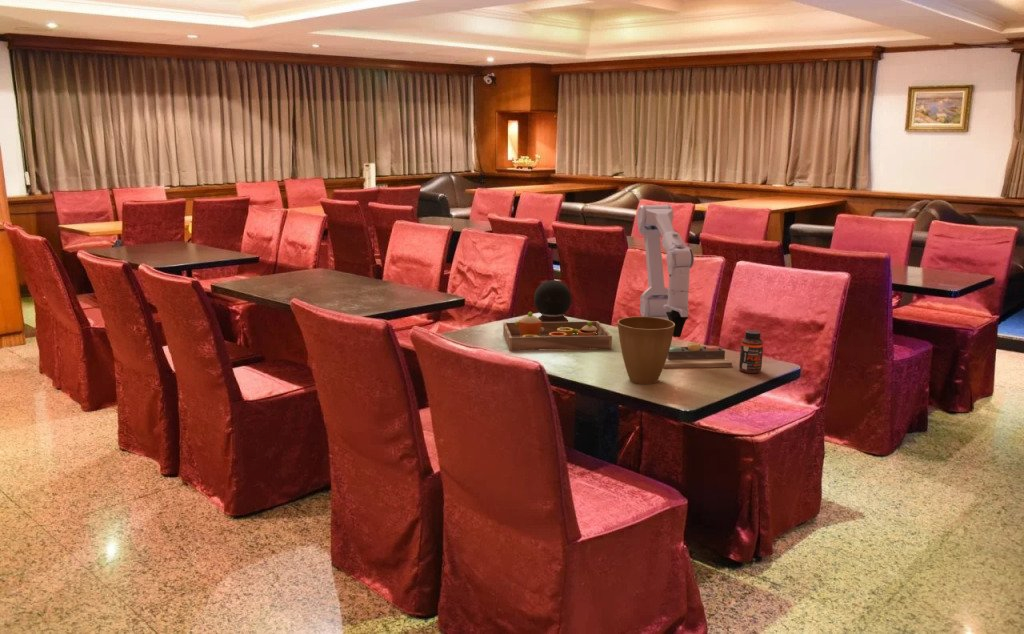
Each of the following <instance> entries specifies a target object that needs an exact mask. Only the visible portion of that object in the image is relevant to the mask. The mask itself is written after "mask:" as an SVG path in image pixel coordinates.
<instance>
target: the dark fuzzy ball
mask: <svg viewBox="0 0 1024 634" xmlns="http://www.w3.org/2000/svg"><path fill="white" fill-rule="evenodd" d="M534 292H535V293H534V295H533V302H534V306H535V308H536V310H537V312H538V313H539V314H540V316H538V317H537V318H538V319H539V320H541V321H542V322H569V320H568V317H566V316H565V314H566V313H567V312H568V311H569V310H570V309H571V308H570V307H571V305H572V299H573V298H572V297H573V296H572V294H571V291H570V288H569V287H568V286H567V285H566V284H565V283H563V282H562V281H560V280H554V279H551V280H546V281H545V282H543V283H541V284H540V285H539V286H538V287H537V288H536V289H535V291H534Z"/></svg>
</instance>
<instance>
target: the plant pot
mask: <svg viewBox="0 0 1024 634" xmlns="http://www.w3.org/2000/svg"><path fill="white" fill-rule="evenodd" d="M674 327H675V323H674V322H672V321H670V320H666V319H662V318H655V317H642V315H641V316H638V315H637V316H629V317H624V318H623V317H622V318H620V319H618V320H617V328H618V329H617V330H618V338H619V344H620V345H619V346H620V350H621V355H622V358H623V363H624V367H625V370H626V373H627V377H628V378H629V379H628V380H629V381H630V382H632V383H635V384H638V385H652V384H655V383H657V382H658V381H659V379H660V376H661V374H662V371H663V369H664V368H663V367H664V364H665V361H666V359H667V356H668V352H669V349H670V347H671V346H672V345H671V344H672V341H673V338H674V337H673V332H674Z"/></svg>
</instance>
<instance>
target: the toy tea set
mask: <svg viewBox="0 0 1024 634" xmlns="http://www.w3.org/2000/svg"><path fill="white" fill-rule="evenodd" d="M588 321H589V320H588ZM515 325H516V326H519V330H520V335H519V337H541V334H540V332H542V331H544V328H543V327H541V325H542V321H541V320H539V319H538V317H537V316H535V315H533V312H532V311H529V312H527V315H525V316H523V317H522V318H521V319H519V320H518V321H515ZM596 331H597V328H596V327H595V326H593V325H592V322H590V321H589V322H587V325H586V326H584V327H582V329H580V330H578V329H575V330H574V329H573V328H568V327H561V328H558V329H557V332H551V333H549V334H548V335H547V336H546V337H548V336H574V335H577V336H597V334H596ZM573 333H575V334H573ZM577 333H578V334H577Z"/></svg>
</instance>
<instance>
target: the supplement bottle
mask: <svg viewBox="0 0 1024 634" xmlns="http://www.w3.org/2000/svg"><path fill="white" fill-rule="evenodd" d="M761 334H762V333H761V331H760V330H759V331H758V330H751V329H750V330H746V331H745V337H744V338H742V339H741V343H740V354H739V371H741V372H742V373H746V374H759V373H761V371H762V366H763V364H762V363H763V352H764V341H763V340H762V339H761Z"/></svg>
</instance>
